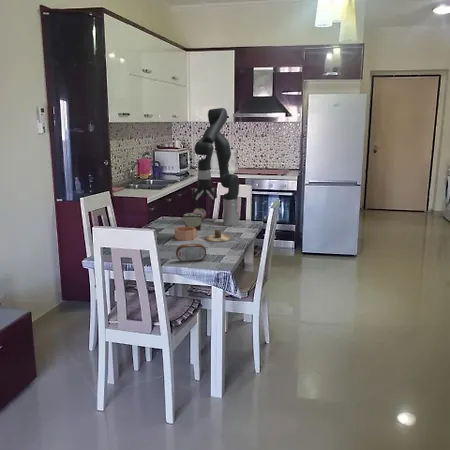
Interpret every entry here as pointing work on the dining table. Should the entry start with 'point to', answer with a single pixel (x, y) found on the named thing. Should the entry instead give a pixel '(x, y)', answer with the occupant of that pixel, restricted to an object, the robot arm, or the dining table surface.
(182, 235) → the bowl
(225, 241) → the mat
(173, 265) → the dining table surface
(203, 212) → the decorative fruit
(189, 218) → the food container
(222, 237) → the lid
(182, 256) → the portable speaker
